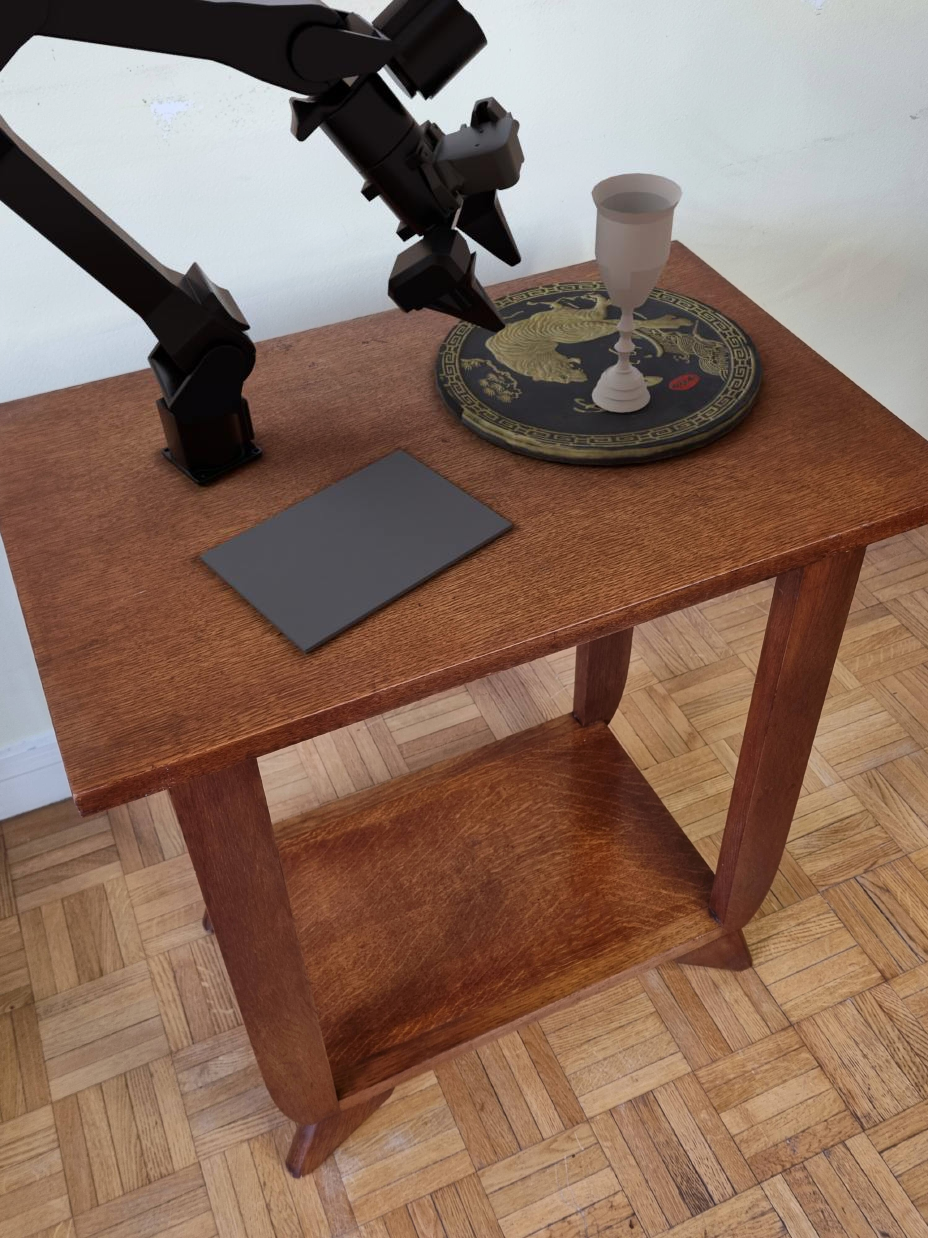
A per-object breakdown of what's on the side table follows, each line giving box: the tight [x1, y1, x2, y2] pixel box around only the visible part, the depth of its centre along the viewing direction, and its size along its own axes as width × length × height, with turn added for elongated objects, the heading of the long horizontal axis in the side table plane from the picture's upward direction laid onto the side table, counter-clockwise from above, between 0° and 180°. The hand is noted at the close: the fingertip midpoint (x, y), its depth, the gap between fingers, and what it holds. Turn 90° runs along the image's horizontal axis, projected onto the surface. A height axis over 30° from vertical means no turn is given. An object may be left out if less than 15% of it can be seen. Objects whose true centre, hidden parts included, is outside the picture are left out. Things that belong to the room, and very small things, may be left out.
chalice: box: [590, 172, 683, 412], centre depth 89 cm, size 7×7×18 cm
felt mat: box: [199, 448, 513, 654], centre depth 85 cm, size 20×14×1 cm
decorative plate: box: [434, 280, 764, 466], centre depth 101 cm, size 30×2×30 cm
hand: (509, 295), depth 90 cm, fingers open, 9 cm apart
